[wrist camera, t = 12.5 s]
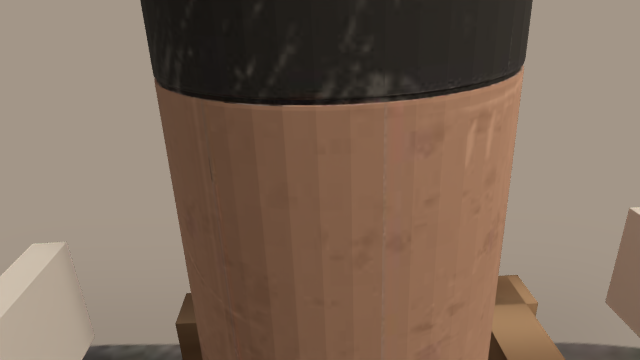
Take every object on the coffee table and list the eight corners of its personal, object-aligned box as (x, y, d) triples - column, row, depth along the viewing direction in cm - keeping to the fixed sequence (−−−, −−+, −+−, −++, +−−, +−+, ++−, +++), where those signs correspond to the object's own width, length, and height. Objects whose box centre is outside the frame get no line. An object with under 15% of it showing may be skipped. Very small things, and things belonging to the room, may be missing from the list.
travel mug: (205, 653, 14) (7, -70, 6) (281, 435, 21) (230, -49, 13) (460, 736, 13) (621, -122, 5) (454, 470, 19) (515, -66, 11)
